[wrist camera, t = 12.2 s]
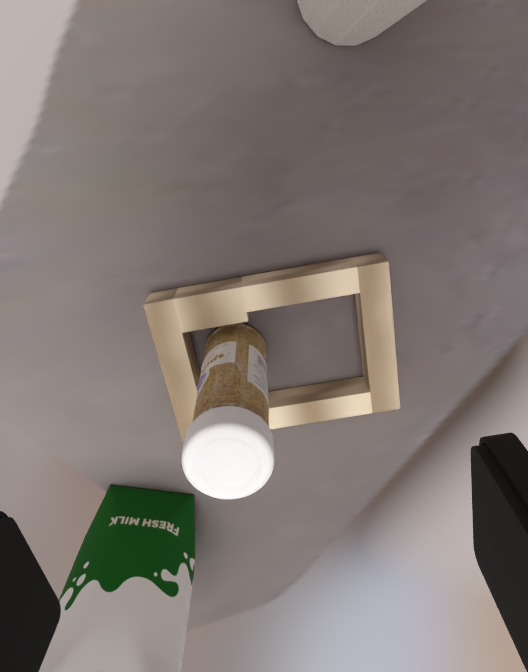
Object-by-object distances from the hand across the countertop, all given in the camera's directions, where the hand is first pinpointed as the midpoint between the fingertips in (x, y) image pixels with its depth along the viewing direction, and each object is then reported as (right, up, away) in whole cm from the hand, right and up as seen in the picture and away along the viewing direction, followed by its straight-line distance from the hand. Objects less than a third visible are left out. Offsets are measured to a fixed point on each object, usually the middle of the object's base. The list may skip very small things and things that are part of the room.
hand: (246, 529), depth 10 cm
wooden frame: (+1, +3, +26) cm, 26 cm away
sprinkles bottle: (-2, +3, +26) cm, 27 cm away
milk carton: (-10, -12, +33) cm, 36 cm away
